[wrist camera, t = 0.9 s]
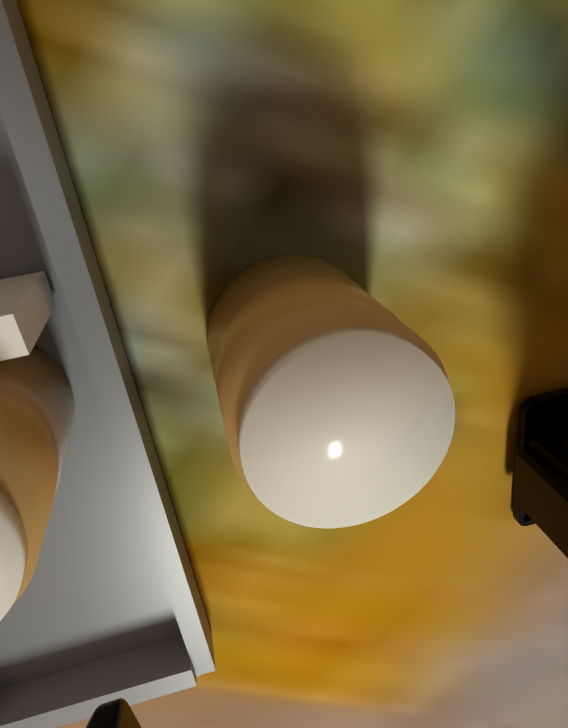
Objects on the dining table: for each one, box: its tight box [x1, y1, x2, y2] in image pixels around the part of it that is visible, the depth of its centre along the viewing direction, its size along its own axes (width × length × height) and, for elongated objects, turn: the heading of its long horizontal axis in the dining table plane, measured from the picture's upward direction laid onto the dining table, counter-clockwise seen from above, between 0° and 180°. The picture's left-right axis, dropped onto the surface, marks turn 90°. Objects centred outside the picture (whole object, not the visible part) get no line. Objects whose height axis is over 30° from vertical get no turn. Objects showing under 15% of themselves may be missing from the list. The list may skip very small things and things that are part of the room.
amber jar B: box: [207, 255, 455, 528], centre depth 15 cm, size 6×6×7 cm
